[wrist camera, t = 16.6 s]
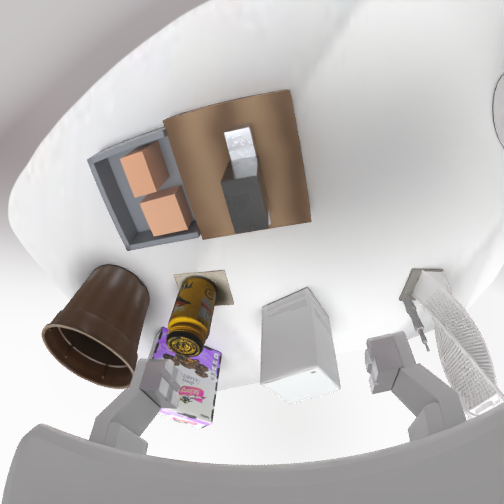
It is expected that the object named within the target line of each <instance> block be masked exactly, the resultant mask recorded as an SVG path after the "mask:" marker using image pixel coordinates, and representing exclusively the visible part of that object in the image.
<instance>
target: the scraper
mask: <svg viewBox="0 0 504 504" xmlns="http://www.w3.org/2000/svg"><path fill="white" fill-rule="evenodd" d="M224 135H225V139H226V142H227V146H228V150H229V154H230V157H231V161H229V162H228V165H227V167H226V170H225V172H224V174H223V177H222V179H221V182H220V183H221V187H222V190H223V194H224V197H225V200H226V204H227V207H228V211H229V214H230V218H231V221H232V224H233V228H234V231H235V234H238V233H244V232H250V231H256V230H262V229H268V228H269V225H270V224H271V211H270V206H269V201H268V196H267V192H266V187H265V183H264V178H263V174H262V169H261V165H260V160H259V156H258V152H257V147H256V143H255V139H254V135H253V130H252V126H251V123H247V124H242V125H237V126H233V127H228V128H227V129H226V131H225V132H224Z"/></svg>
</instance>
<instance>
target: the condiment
mask: <svg viewBox="0 0 504 504" xmlns="http://www.w3.org/2000/svg"><path fill="white" fill-rule="evenodd" d="M174 278H175V280H176V282H177V284H178V287H179V289H180V290H179V293H178V296H177V298H176V302H175V305H174V308H173V311H172V314H171V317H170V320H169V323H168V329H169V331H168V336H167V338H166V344H167V346H168V348H169V349H170V350H171V351H173V352H174V353H176V354H178V355H180V356H184V357H196V356H198V355H199V354H200V353H201V352H202V351H203V349H204V348H203V347H204V344H205V340H206V339H207V338H208V336H209V332H210V326H211V321H212V316H213V311H214V306H217V305H234V303H233V299H232V295H231V292H230V288H229V284H228V282H227V278H226V274H225V271H224V270H223V271H213V272H202V273H188V274H178V275H174ZM212 280H213V281H212ZM214 281H216V282H214Z"/></svg>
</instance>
